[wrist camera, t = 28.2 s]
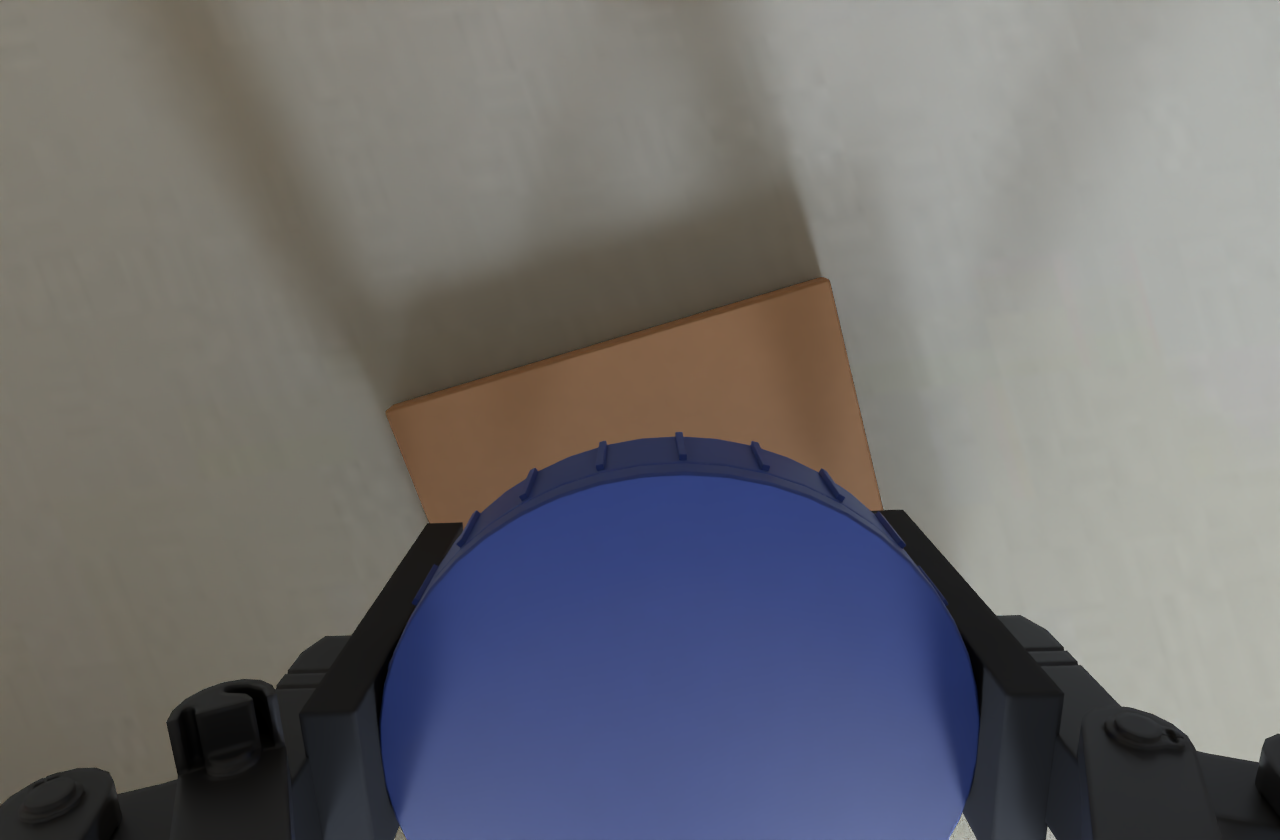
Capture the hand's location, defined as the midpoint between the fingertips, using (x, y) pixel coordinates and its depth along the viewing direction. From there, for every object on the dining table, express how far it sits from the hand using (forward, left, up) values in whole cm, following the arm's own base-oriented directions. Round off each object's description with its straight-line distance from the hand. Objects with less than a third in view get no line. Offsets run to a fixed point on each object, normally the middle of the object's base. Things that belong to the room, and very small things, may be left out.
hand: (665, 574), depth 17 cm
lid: (0, 0, +5) cm, 5 cm away
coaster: (0, 0, -2) cm, 2 cm away
